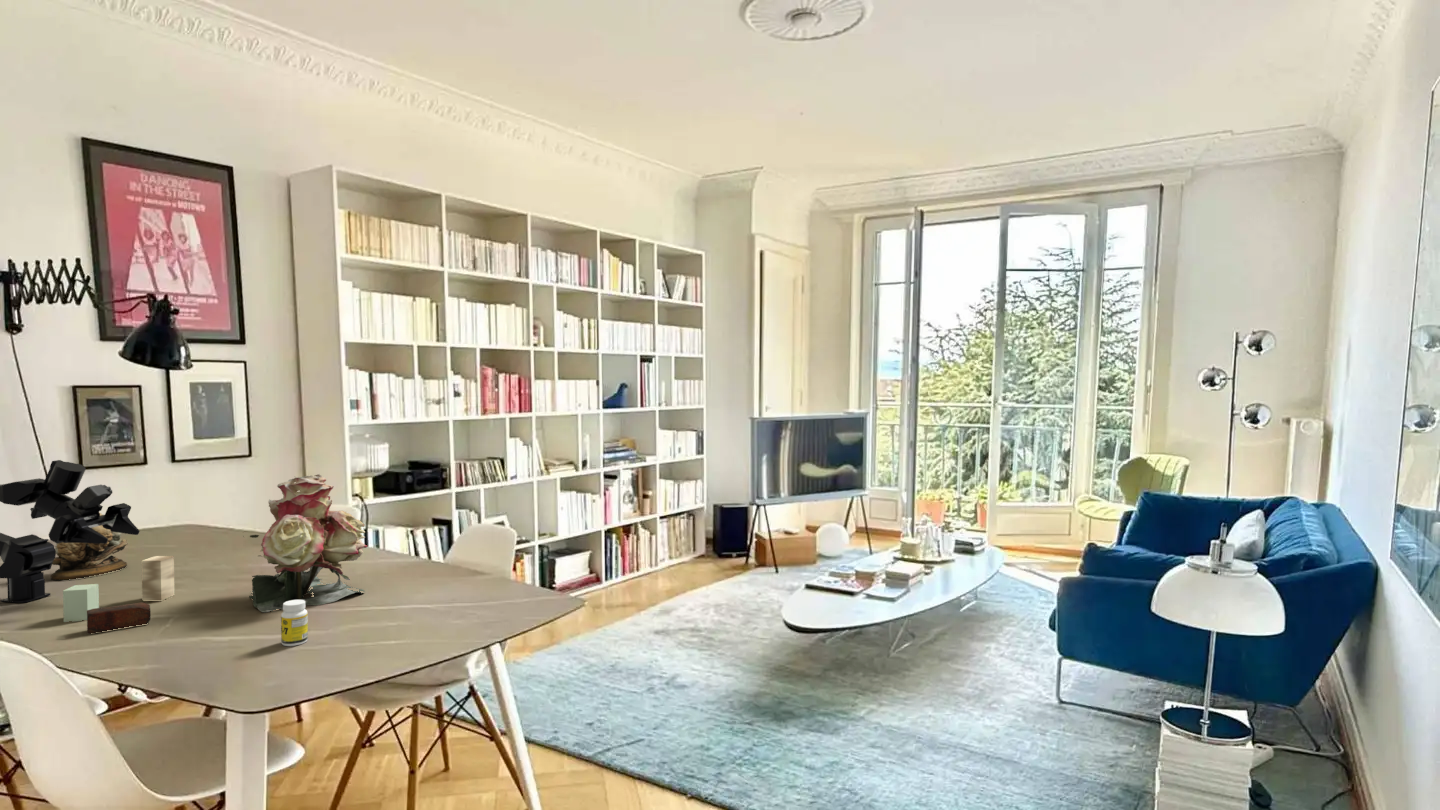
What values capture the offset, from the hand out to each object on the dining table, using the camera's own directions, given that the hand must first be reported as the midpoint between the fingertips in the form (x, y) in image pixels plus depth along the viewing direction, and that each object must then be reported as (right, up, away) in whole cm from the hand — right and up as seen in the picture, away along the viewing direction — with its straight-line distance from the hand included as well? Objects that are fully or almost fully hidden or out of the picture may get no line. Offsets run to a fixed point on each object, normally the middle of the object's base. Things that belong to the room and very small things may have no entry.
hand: (123, 537), depth 178 cm
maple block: (+7, -16, +2) cm, 17 cm away
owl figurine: (-29, -15, +25) cm, 41 cm away
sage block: (+1, -16, -12) cm, 20 cm away
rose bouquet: (+41, -16, +7) cm, 45 cm away
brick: (+14, -17, -18) cm, 28 cm away
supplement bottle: (+57, -17, -26) cm, 65 cm away
